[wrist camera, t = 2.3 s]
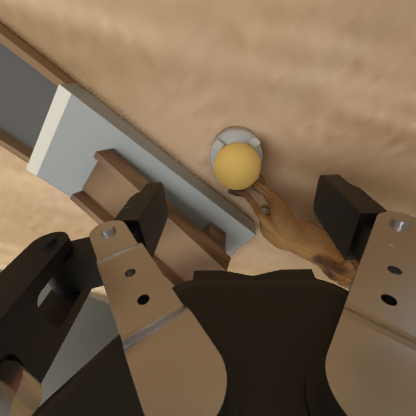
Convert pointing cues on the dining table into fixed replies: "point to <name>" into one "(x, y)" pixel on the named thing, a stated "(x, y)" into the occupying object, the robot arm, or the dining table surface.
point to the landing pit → (24, 93)
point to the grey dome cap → (233, 136)
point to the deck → (132, 152)
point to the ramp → (174, 228)
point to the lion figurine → (299, 235)
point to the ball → (237, 166)
